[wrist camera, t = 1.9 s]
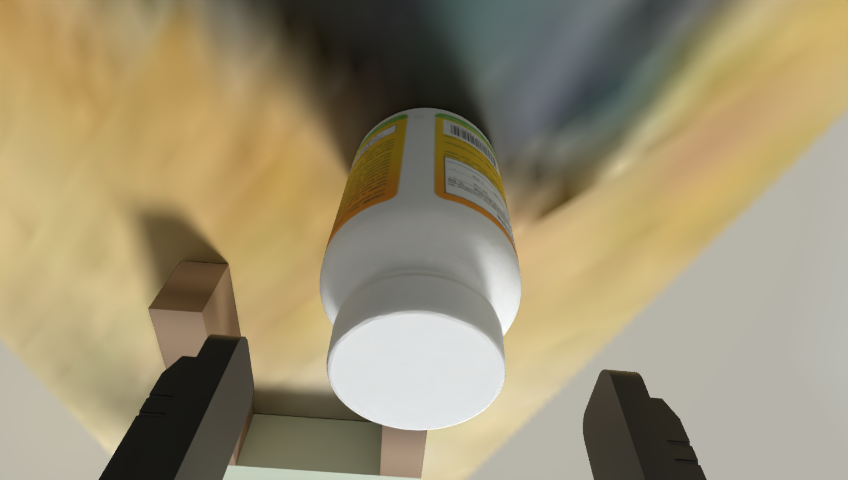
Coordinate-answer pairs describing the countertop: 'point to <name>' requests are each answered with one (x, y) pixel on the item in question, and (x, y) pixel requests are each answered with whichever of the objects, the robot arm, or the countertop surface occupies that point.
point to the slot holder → (271, 434)
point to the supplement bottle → (420, 274)
